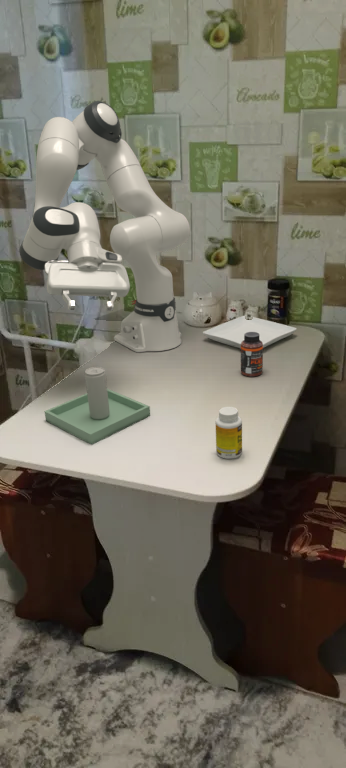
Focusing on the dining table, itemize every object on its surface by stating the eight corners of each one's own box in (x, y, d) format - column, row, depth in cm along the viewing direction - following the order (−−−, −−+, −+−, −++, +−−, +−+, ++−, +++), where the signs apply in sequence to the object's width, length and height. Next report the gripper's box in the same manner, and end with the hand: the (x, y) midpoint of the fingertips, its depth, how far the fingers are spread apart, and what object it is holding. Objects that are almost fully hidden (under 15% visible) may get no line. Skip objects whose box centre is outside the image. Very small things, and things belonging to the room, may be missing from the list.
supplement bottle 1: (241, 460, 136) (240, 417, 131) (215, 459, 137) (213, 416, 132) (243, 447, 141) (242, 404, 136) (217, 446, 142) (216, 404, 137)
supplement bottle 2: (252, 379, 172) (252, 339, 168) (236, 373, 177) (235, 334, 172) (267, 372, 176) (267, 333, 171) (251, 366, 180) (250, 328, 175)
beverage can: (105, 421, 154) (100, 375, 149) (87, 419, 155) (81, 374, 150) (112, 412, 158) (108, 367, 153) (94, 410, 159) (89, 366, 154)
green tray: (45, 420, 157) (44, 411, 156) (103, 395, 168) (102, 386, 167) (91, 444, 145) (90, 434, 144) (150, 415, 156) (149, 406, 155)
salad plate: (298, 337, 200) (298, 326, 198) (255, 358, 187) (255, 347, 185) (244, 323, 214) (244, 313, 212) (201, 342, 201) (200, 332, 199)
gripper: (45, 252, 156) (49, 301, 150) (127, 255, 162) (134, 303, 157) (42, 267, 161) (46, 315, 156) (122, 270, 168) (128, 316, 162)
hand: (91, 309), depth 156 cm, fingers open, 8 cm apart
